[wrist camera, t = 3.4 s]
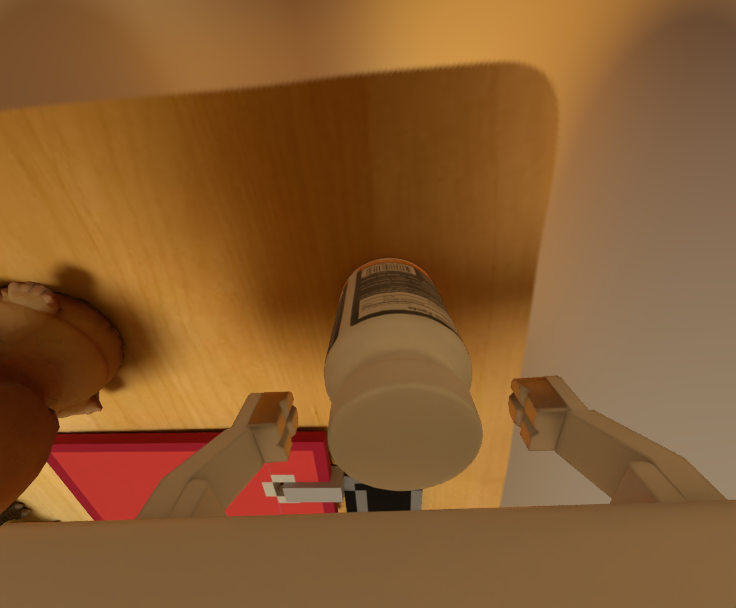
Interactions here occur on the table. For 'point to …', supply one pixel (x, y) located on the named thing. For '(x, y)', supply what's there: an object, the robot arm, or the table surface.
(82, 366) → the figurine
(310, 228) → the table surface
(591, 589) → the robot arm
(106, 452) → the red board with handle
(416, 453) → the pill bottle
